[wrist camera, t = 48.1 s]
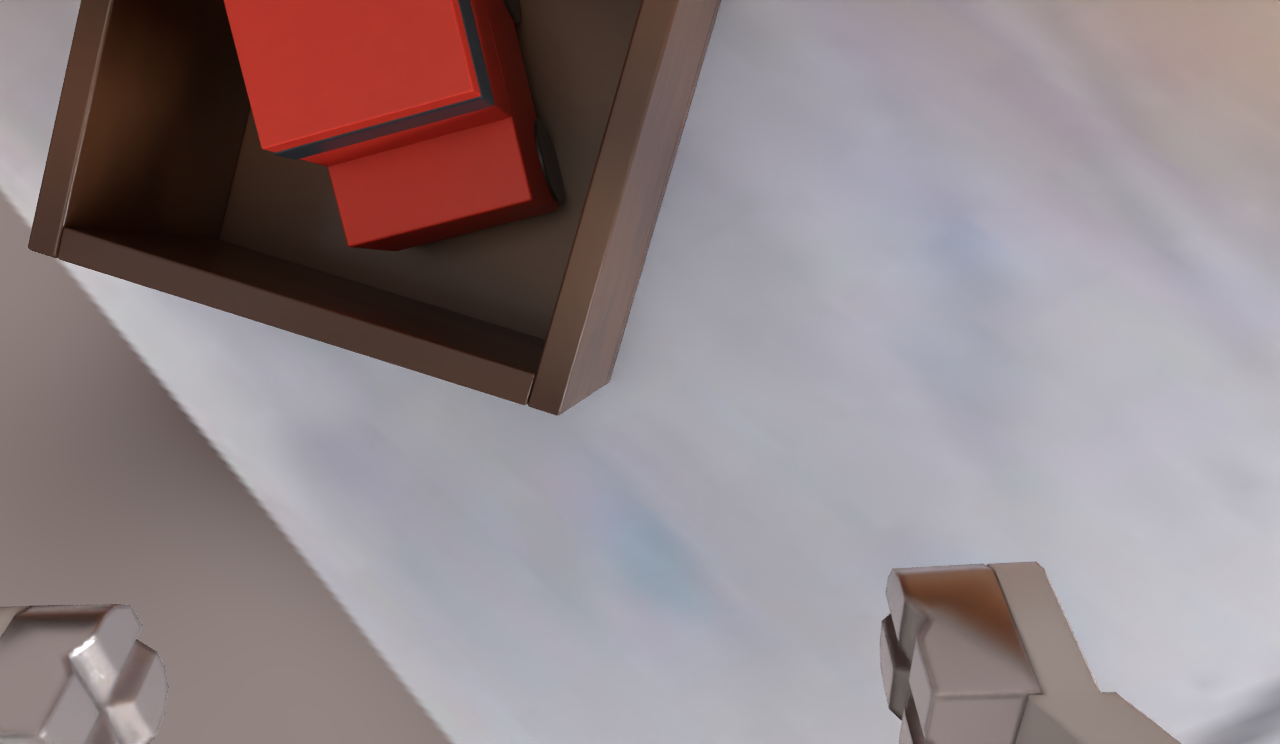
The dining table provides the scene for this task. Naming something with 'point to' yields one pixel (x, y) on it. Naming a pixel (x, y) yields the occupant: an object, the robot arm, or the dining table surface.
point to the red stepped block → (401, 111)
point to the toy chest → (308, 212)
